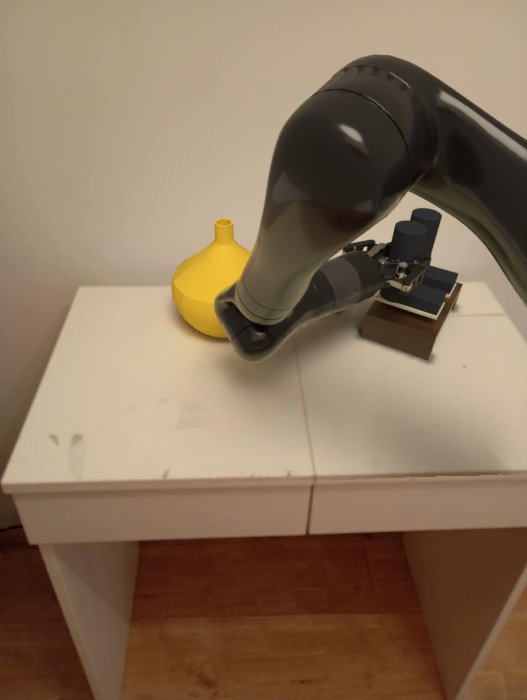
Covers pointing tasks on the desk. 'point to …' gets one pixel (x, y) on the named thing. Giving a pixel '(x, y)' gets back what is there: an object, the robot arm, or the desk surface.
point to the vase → (208, 279)
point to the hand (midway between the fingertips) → (414, 252)
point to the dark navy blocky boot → (408, 247)
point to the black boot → (432, 275)
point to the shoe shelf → (406, 326)
